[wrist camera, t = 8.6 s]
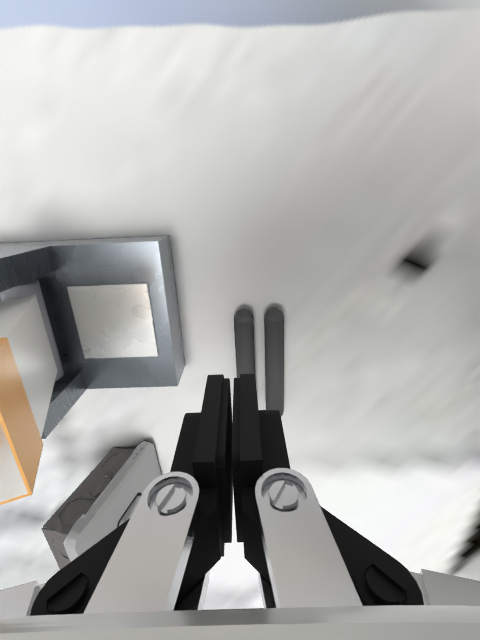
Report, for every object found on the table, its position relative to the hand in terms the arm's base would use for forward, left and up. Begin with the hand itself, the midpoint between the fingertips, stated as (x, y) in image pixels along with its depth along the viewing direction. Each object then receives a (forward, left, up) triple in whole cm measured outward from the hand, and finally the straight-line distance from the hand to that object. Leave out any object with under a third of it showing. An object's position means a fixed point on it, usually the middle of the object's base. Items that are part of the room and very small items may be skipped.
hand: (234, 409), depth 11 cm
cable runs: (-1, +5, -13) cm, 14 cm away
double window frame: (+15, 0, -13) cm, 19 cm away
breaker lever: (+13, 0, -8) cm, 15 cm away
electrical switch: (+11, +17, -13) cm, 24 cm away
